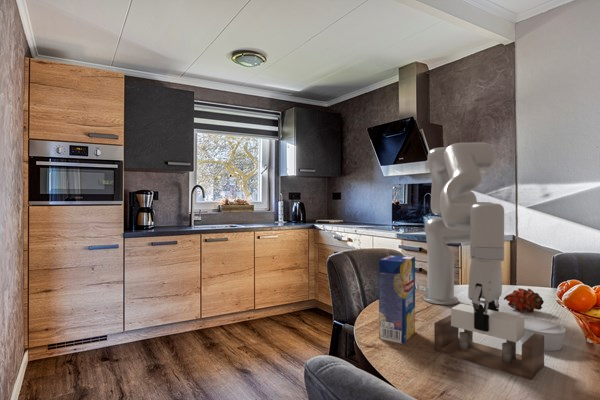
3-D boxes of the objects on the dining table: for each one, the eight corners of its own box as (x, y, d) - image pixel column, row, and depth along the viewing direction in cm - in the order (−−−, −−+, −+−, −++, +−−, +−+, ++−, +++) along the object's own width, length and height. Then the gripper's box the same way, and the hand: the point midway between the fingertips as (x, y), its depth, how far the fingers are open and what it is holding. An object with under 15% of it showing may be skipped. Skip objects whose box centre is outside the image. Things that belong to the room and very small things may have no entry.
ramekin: (567, 357, 92) (567, 335, 92) (515, 347, 98) (515, 327, 98) (564, 342, 102) (564, 322, 102) (517, 334, 108) (517, 316, 108)
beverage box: (415, 331, 109) (415, 256, 109) (403, 344, 100) (403, 262, 100) (392, 327, 113) (392, 254, 113) (378, 338, 104) (378, 259, 104)
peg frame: (434, 350, 96) (434, 322, 96) (451, 339, 103) (451, 314, 103) (532, 379, 80) (532, 347, 80) (544, 365, 87) (544, 335, 87)
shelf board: (450, 325, 95) (451, 308, 95) (460, 320, 99) (460, 303, 99) (516, 342, 84) (516, 322, 84) (524, 335, 88) (524, 316, 88)
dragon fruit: (547, 319, 125) (506, 318, 132) (545, 300, 131) (507, 299, 138) (542, 302, 121) (501, 301, 128) (541, 283, 127) (502, 283, 134)
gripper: (483, 248, 100) (483, 315, 100) (456, 255, 88) (456, 331, 88) (514, 251, 95) (514, 322, 95) (490, 259, 83) (490, 340, 83)
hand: (486, 326), depth 92 cm, fingers closed on shelf board, 6 cm apart
